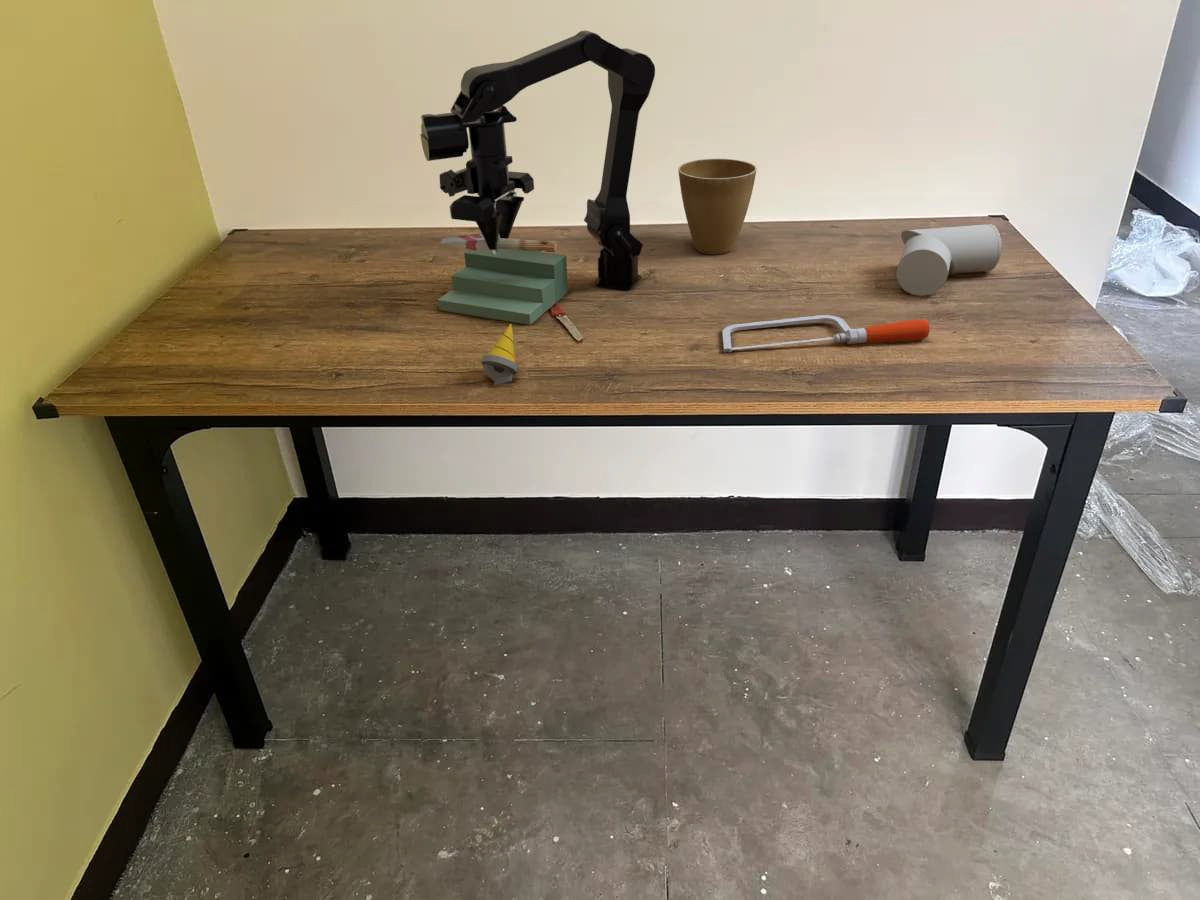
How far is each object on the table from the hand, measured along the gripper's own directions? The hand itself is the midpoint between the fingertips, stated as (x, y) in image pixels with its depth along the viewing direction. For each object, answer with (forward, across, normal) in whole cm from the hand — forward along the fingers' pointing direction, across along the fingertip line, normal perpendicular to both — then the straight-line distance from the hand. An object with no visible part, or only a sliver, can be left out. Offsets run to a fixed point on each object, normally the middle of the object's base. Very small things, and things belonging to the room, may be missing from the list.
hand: (498, 245), depth 152 cm
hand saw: (+11, -5, +55) cm, 56 cm away
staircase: (+11, -1, 0) cm, 11 cm away
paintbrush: (+1, 0, 0) cm, 1 cm away
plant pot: (+11, -38, +27) cm, 48 cm away
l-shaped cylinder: (+12, -37, +71) cm, 81 cm away
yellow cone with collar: (+11, +24, +13) cm, 30 cm away
